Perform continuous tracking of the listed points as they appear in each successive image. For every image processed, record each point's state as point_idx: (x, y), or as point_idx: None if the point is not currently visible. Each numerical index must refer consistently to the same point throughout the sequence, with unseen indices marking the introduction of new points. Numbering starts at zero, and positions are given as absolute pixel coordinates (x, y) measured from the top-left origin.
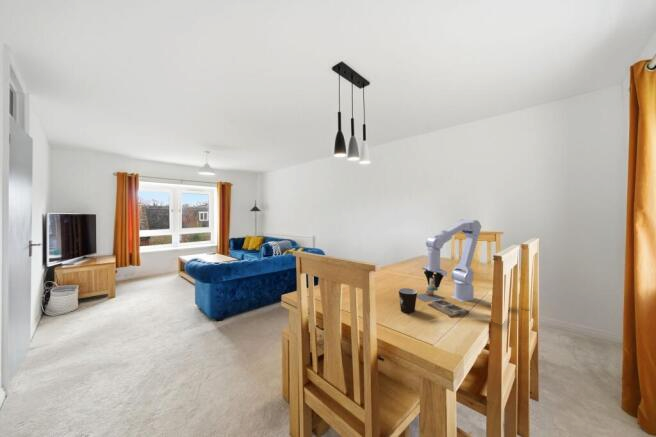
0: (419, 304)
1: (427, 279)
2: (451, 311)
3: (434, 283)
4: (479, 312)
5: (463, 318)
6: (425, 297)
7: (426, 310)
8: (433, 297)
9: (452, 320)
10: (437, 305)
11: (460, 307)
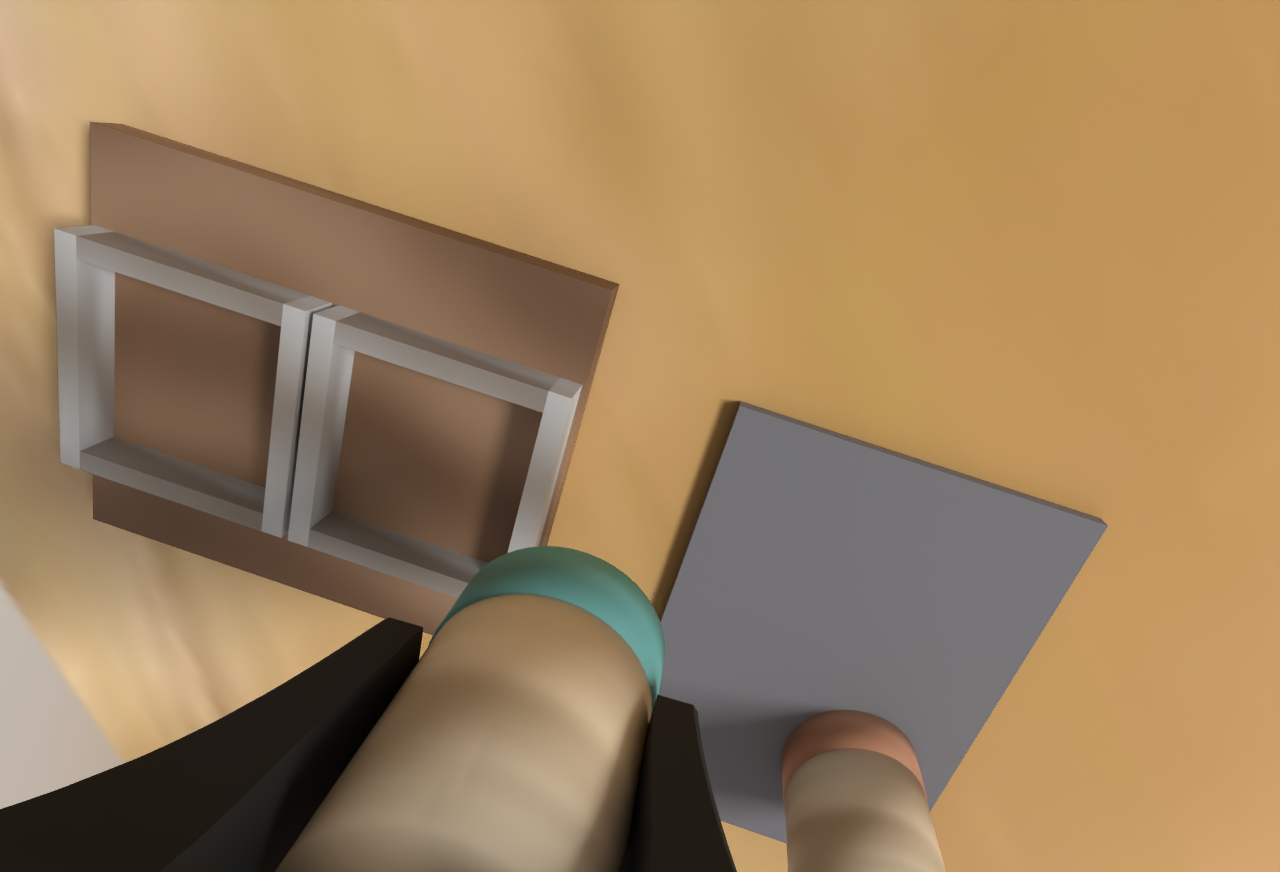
0: (765, 223)
1: (699, 835)
2: (131, 246)
3: (399, 703)
4: (91, 627)
5: (29, 264)
6: (844, 609)
7: (509, 46)
8: (742, 699)
9: (31, 30)
10: (441, 342)
11: (232, 565)
